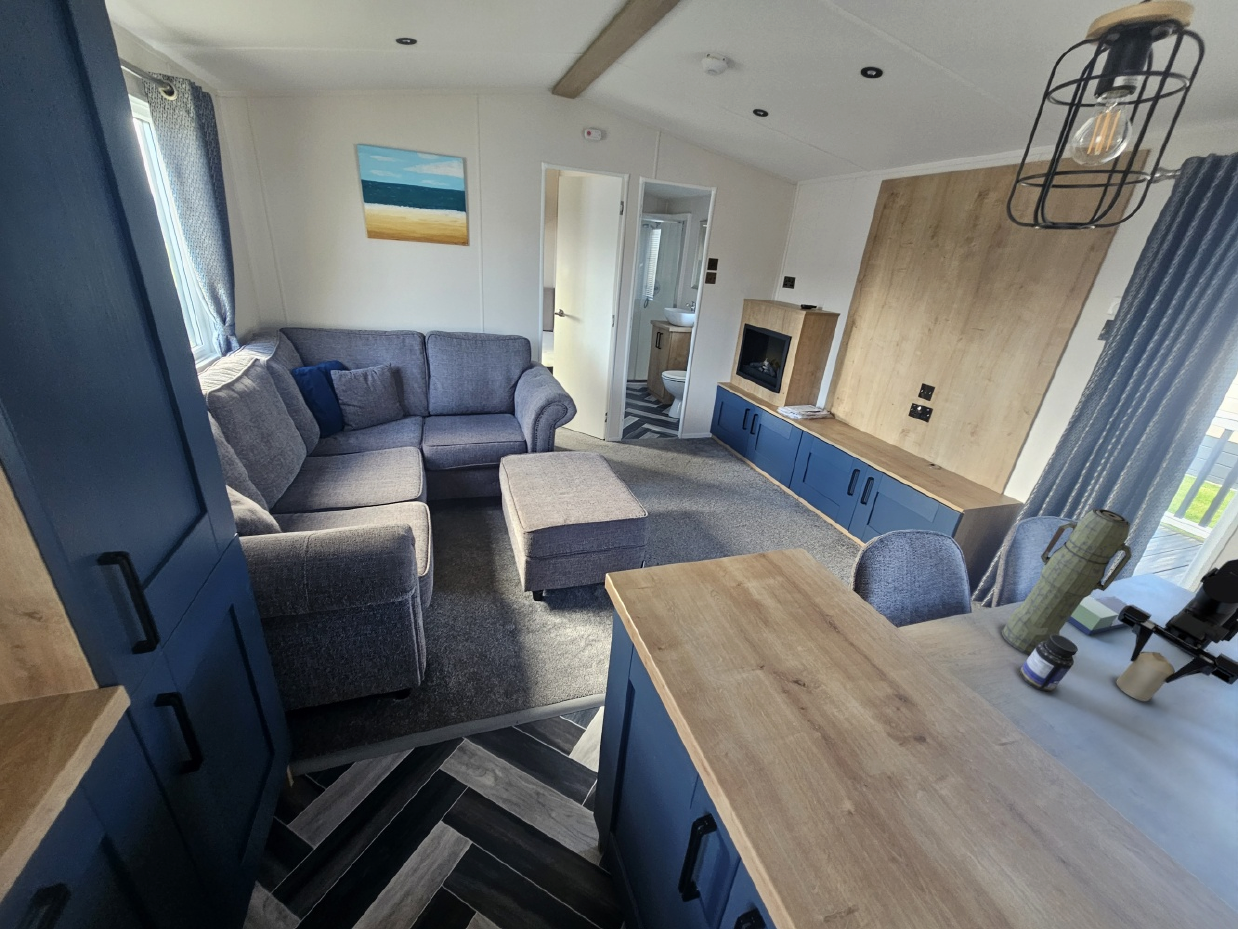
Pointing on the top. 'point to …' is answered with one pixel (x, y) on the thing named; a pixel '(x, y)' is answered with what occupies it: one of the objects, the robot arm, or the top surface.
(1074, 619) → the stand
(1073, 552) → the thermos
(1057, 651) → the pill bottle
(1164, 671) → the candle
